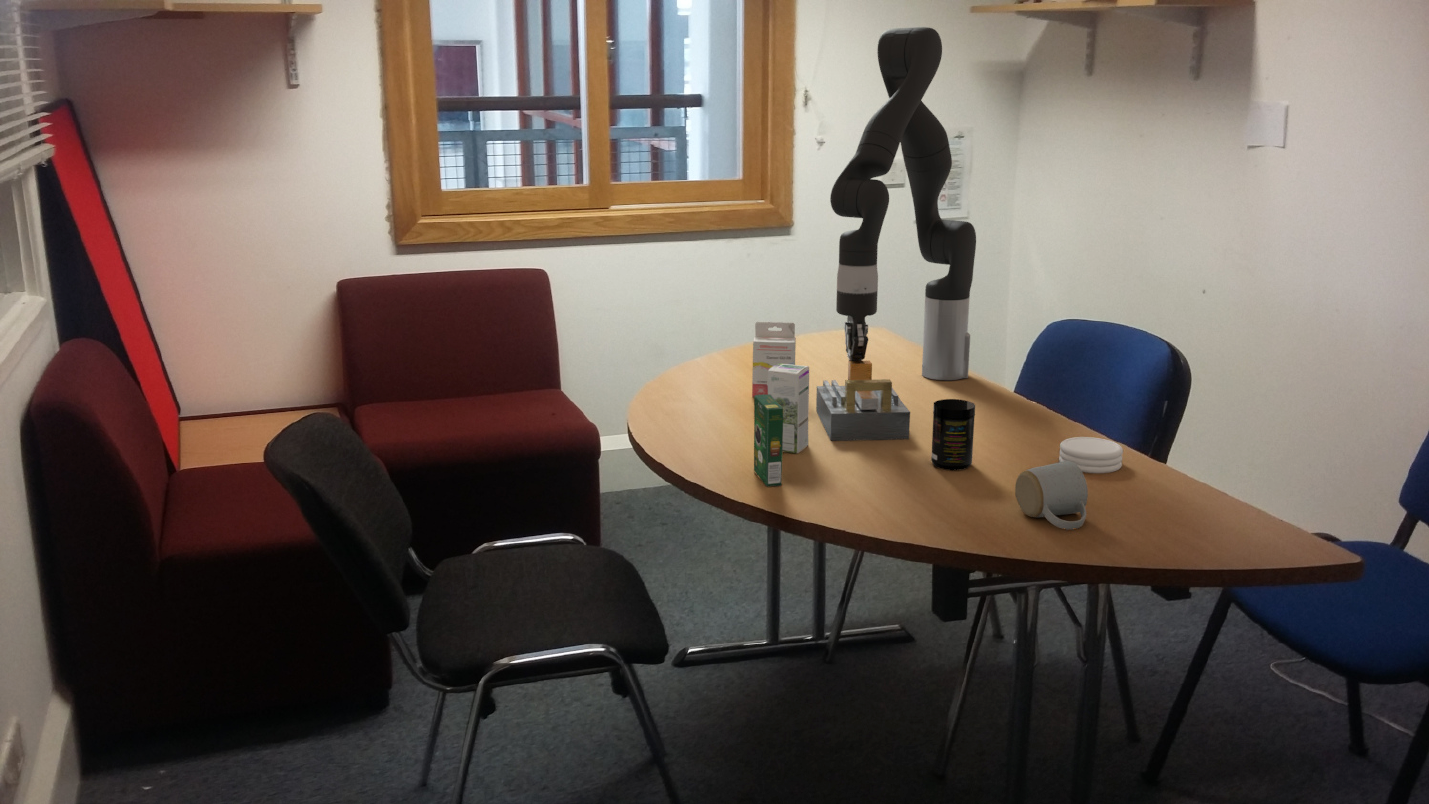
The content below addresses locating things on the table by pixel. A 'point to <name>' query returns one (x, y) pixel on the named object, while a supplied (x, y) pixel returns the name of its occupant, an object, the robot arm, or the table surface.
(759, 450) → the coffee box
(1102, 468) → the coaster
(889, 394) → the heatsink block
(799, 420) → the syrup box
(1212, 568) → the table surface
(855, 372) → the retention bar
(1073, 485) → the ceramic mug
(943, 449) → the supplement container
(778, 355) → the ink cartridge box
